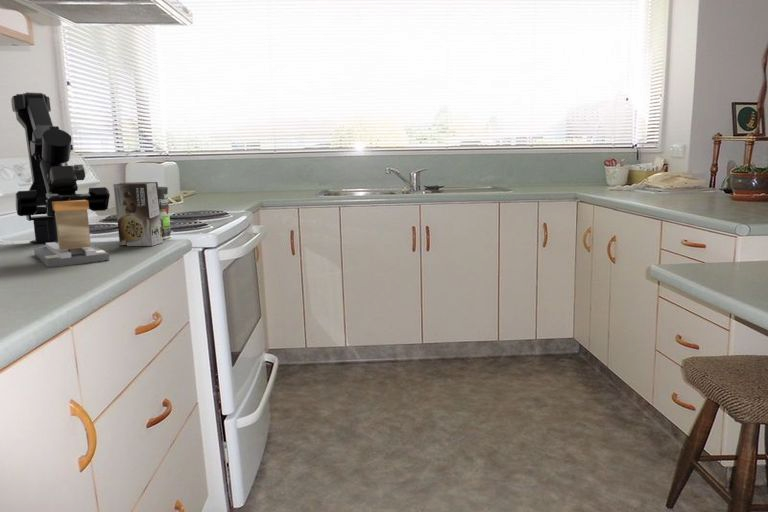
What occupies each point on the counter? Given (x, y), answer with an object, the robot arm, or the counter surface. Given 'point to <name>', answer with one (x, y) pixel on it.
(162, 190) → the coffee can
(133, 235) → the grey printed cardboard box
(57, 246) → the fader deck
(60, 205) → the block
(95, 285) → the counter surface
